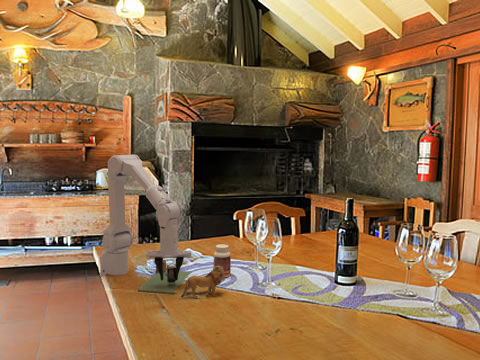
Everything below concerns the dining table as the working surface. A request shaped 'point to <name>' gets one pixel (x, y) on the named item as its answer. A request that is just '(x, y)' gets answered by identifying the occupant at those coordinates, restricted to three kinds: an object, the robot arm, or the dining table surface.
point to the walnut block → (163, 267)
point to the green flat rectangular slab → (163, 283)
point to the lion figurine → (205, 281)
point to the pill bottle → (223, 259)
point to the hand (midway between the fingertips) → (169, 279)
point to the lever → (170, 275)
